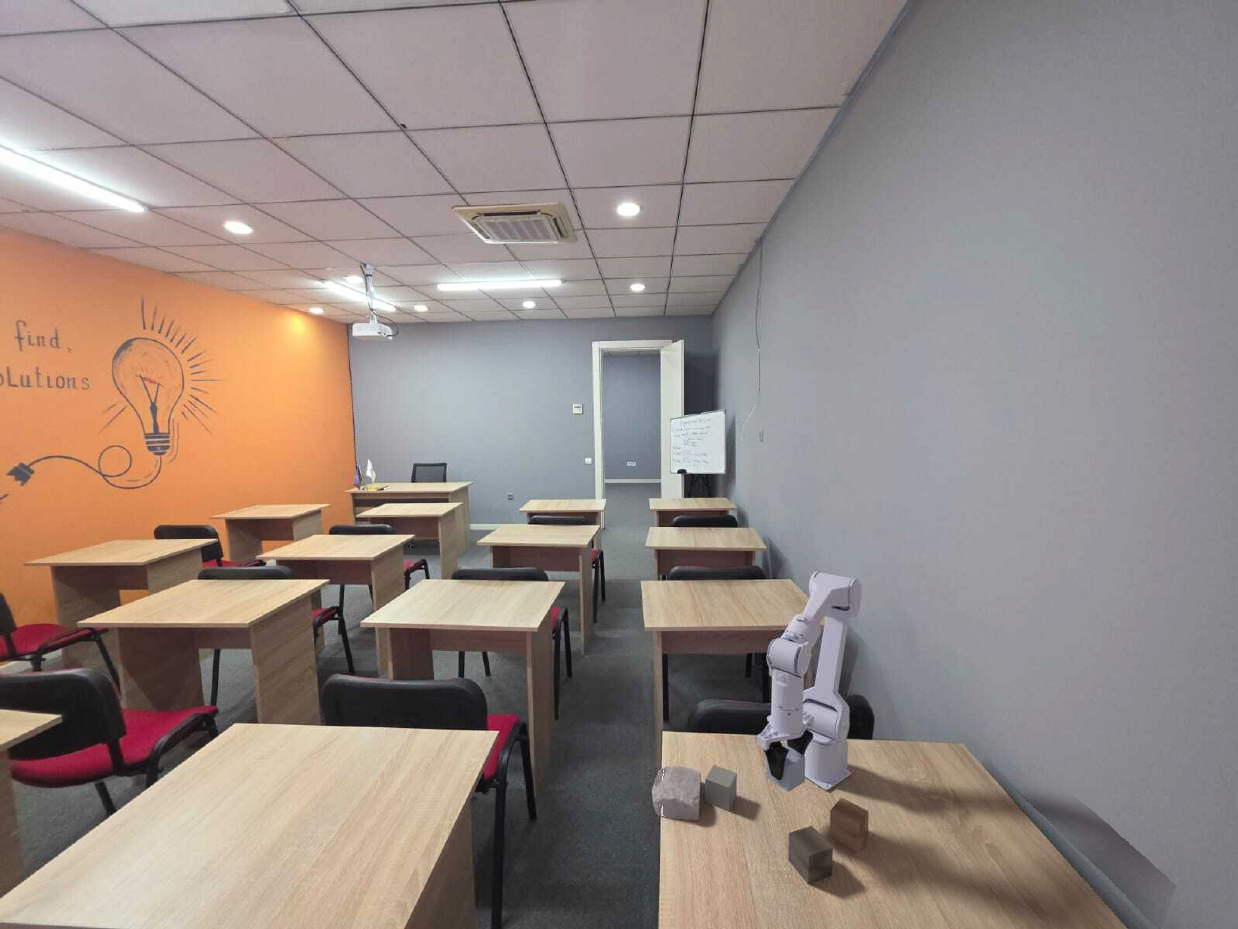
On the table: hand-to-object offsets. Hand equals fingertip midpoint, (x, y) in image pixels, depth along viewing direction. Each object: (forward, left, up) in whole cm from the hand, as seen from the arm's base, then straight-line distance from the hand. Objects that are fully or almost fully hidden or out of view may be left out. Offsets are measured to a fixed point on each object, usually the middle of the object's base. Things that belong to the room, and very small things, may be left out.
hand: (785, 771), depth 94 cm
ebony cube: (+5, +9, -10) cm, 14 cm away
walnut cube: (-7, +9, -10) cm, 15 cm away
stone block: (+13, -16, -10) cm, 24 cm away
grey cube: (+6, -11, -10) cm, 16 cm away
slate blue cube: (0, 0, -2) cm, 2 cm away
